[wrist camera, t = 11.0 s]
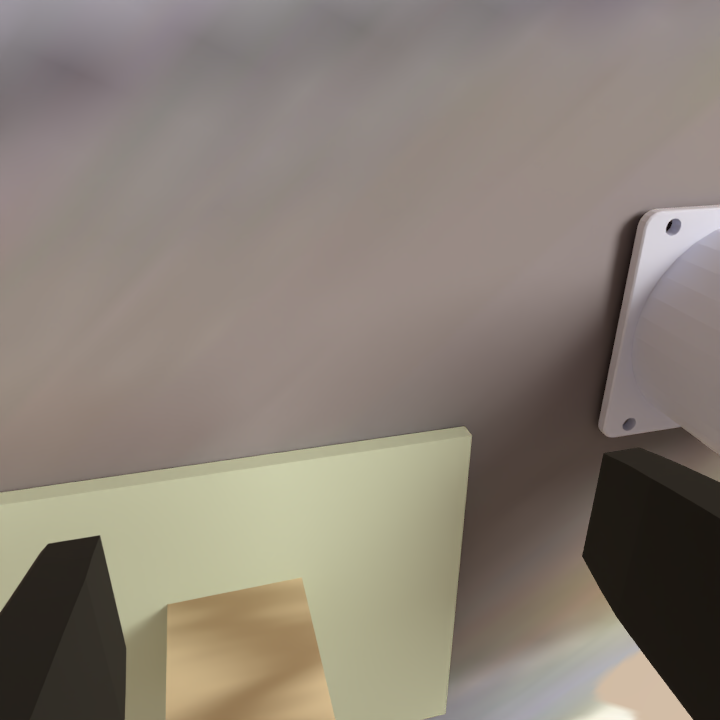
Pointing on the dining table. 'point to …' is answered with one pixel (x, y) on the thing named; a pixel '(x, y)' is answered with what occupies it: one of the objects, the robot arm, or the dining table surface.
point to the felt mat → (280, 557)
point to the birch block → (245, 657)
